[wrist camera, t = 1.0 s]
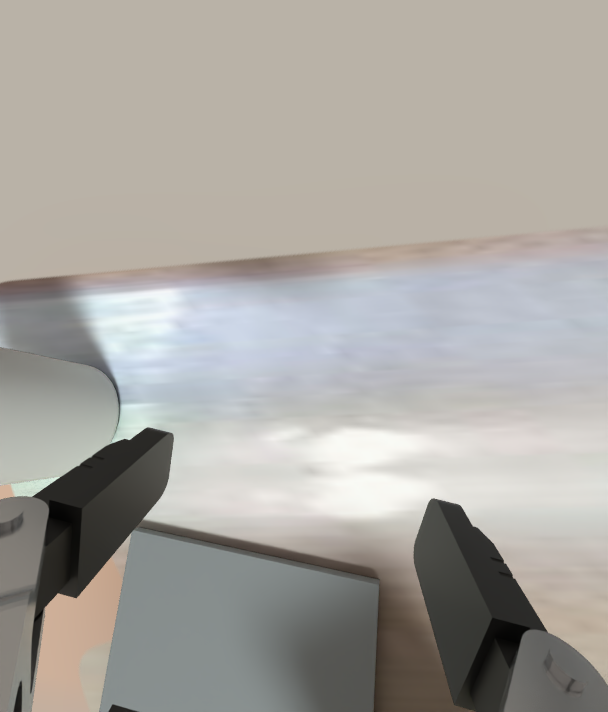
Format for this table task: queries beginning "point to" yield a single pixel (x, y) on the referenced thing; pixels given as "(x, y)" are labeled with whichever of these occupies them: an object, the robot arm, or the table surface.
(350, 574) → the slate mat
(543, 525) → the table surface
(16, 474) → the cylinder vase
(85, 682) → the table surface
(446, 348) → the table surface
